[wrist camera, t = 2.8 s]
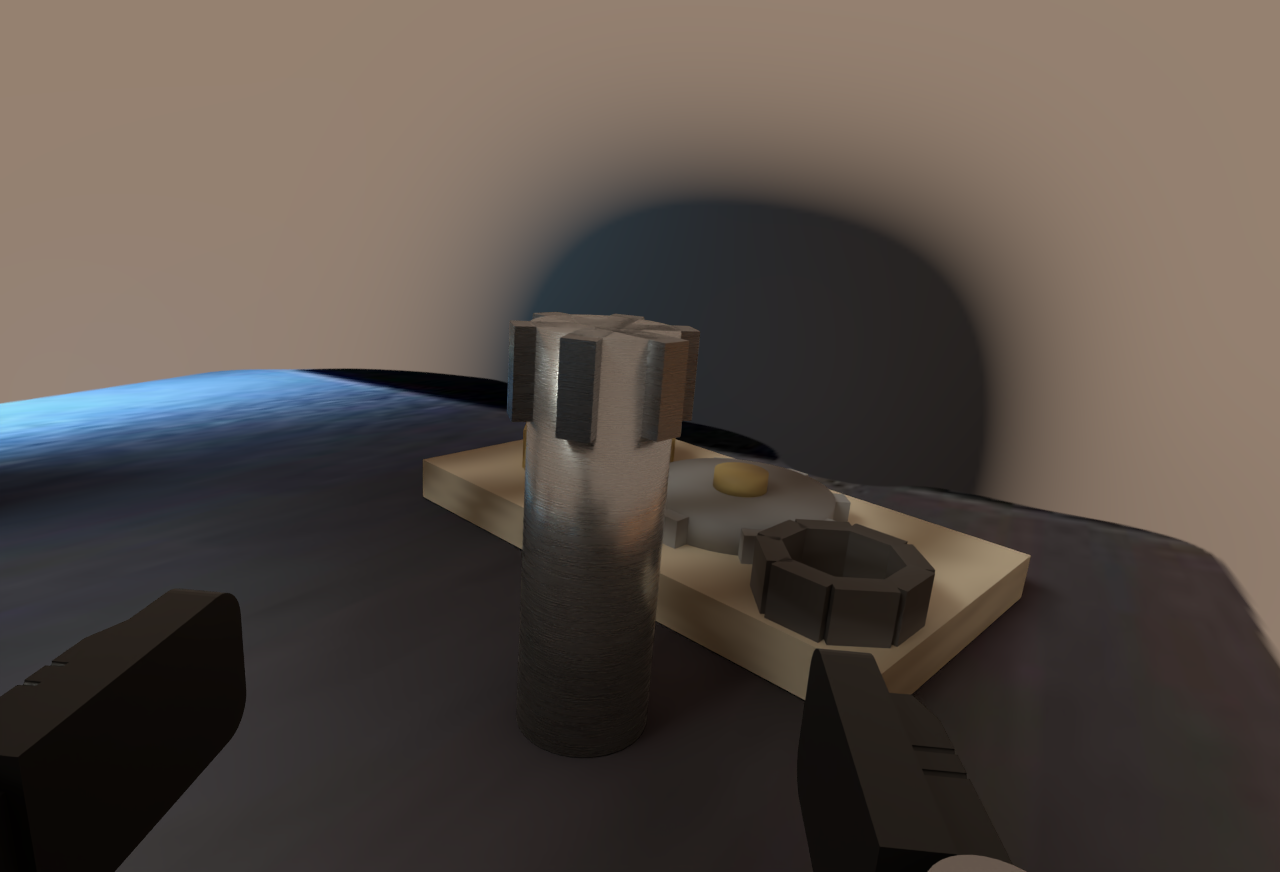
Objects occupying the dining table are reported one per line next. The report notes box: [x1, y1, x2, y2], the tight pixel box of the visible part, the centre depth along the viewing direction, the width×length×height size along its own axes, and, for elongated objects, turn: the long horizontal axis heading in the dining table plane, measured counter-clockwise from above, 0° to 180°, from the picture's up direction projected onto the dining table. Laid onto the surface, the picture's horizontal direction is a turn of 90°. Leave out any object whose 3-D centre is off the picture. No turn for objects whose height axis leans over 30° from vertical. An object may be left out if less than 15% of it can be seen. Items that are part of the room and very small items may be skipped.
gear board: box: [423, 423, 1031, 700], centre depth 37 cm, size 25×14×4 cm, turn 47°
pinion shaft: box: [507, 312, 700, 757], centre depth 23 cm, size 5×5×12 cm
